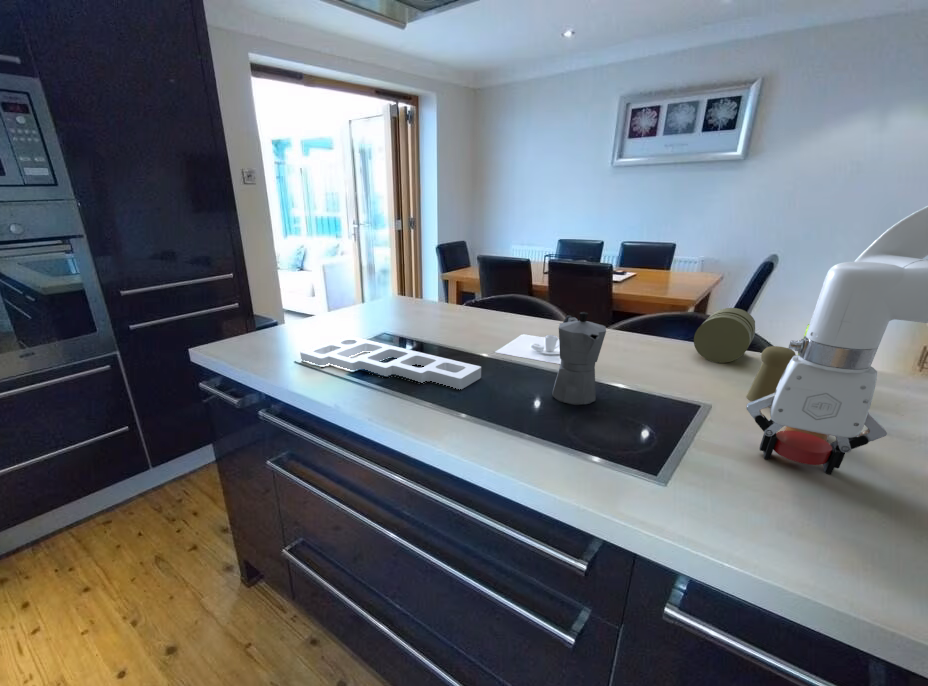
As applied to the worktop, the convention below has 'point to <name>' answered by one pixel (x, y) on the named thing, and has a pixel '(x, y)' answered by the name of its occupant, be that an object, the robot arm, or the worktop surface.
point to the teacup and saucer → (534, 348)
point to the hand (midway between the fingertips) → (795, 461)
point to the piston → (725, 335)
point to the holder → (393, 362)
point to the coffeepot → (578, 360)
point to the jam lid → (802, 447)
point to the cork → (770, 371)
